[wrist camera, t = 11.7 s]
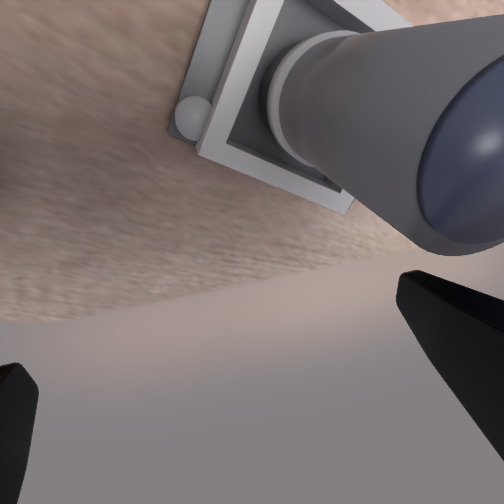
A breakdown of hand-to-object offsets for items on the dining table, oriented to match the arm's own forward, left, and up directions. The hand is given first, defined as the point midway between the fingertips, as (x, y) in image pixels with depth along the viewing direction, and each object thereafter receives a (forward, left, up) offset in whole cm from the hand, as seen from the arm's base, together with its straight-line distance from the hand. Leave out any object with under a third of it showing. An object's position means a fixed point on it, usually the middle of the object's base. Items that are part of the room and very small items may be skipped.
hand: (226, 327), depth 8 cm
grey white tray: (+4, +6, -13) cm, 15 cm away
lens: (+4, +6, -12) cm, 14 cm away
